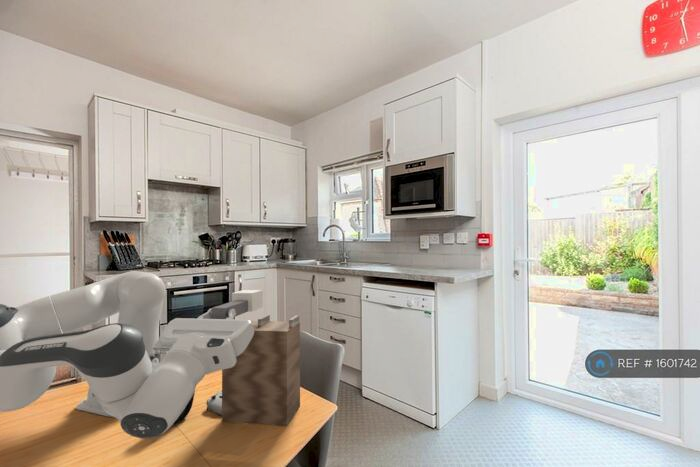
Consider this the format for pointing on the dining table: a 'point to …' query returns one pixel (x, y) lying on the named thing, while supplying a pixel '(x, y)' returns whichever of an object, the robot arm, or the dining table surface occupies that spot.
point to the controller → (185, 411)
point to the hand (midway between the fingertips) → (223, 310)
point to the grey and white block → (240, 303)
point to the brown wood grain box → (265, 376)
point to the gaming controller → (215, 403)
